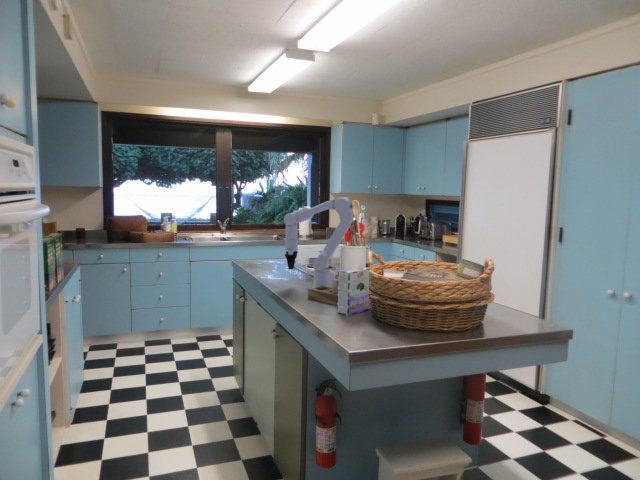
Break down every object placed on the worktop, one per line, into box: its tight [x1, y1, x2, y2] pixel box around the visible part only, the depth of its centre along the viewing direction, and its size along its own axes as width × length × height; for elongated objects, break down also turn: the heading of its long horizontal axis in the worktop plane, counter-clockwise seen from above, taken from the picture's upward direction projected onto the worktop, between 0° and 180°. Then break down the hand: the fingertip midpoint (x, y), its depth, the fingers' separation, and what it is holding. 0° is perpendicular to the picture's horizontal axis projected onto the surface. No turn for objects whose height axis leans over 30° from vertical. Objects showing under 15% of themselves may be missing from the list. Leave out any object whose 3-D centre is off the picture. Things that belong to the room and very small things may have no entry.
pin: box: [332, 278, 338, 294], centre depth 191 cm, size 3×3×8 cm
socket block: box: [307, 286, 338, 306], centre depth 194 cm, size 9×16×4 cm, turn 46°
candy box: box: [336, 266, 371, 317], centre depth 176 cm, size 14×6×16 cm, turn 134°
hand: (291, 267), depth 215 cm, fingers open, 7 cm apart
